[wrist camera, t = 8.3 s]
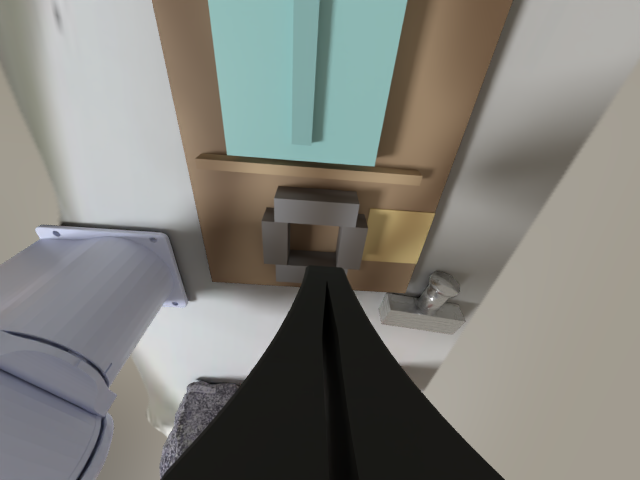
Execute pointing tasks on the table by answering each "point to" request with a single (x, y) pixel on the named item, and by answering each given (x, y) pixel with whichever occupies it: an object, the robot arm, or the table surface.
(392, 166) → the board
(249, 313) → the table surface
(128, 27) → the table surface
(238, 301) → the table surface
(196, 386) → the rock
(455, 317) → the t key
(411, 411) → the robot arm
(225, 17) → the cover
